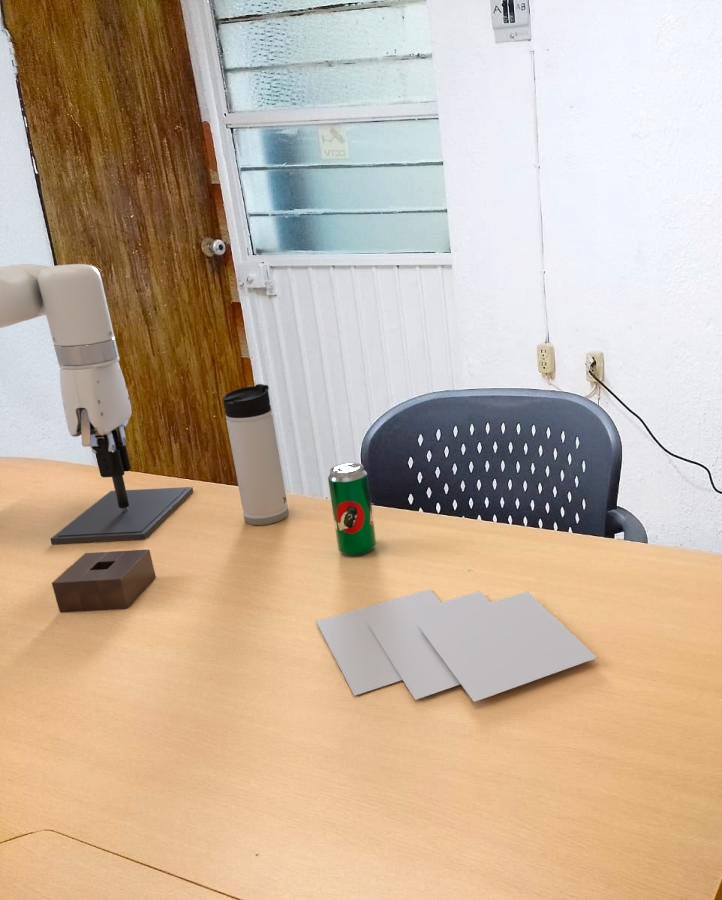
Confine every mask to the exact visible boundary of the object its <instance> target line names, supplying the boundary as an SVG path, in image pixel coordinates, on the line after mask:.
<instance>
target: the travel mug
mask: <svg viewBox="0 0 722 900" xmlns="http://www.w3.org/2000/svg"><path fill="white" fill-rule="evenodd" d="M269 390H270V389H269V385H268V384H263V383H258V384H254V385H252V386H246V387H240V388H238V389H237V388H236V389H234V390H232V391H230V392H228V393H226V394H225V395H224V396H223V397H222V403H223V408H224V413H225V419H226V420H225V422H226V427H227V432H228V437H229V443H230V448H231V453H232V460H233V464H234V465H233V466H234V470H235V475H236V476H235V477H236V481H237V487H238V491H239V497H240V502H241V507H242V512H243V519H244V521H245V522H246V523H247V524H249V525H253V526H266V525H271V524H276V523H279V522H281V521H282V520H284V519H286V518H287V516H288V515H289V513H290V512H289V506H288V500H287V494H286V487H285V482H284V476H283V469H282V464H281V458H280V451H279V445H278V439H277V433H276V427H275V421H274V415H273V409H272V406H271V400H270V394H269Z"/></svg>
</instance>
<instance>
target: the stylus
mask: <svg viewBox="0 0 722 900" xmlns="http://www.w3.org/2000/svg"><path fill="white" fill-rule="evenodd" d="M102 438H103V439H104V440H105V437H102ZM113 440H114V443H115V439H114V436H113ZM115 447H116V444H115ZM116 450H117V448H116ZM111 478H112V483H113V488H114V491H115V493H116V497H117V501H118V506H119V508H121V509H122V512H127V511H128V508H127V507H128V506H129V502H128V497H127V493H126V490H127V489H126V484H125V480H124V475H123V476H121V477H111Z"/></svg>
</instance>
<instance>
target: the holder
mask: <svg viewBox="0 0 722 900" xmlns="http://www.w3.org/2000/svg"><path fill="white" fill-rule="evenodd" d="M156 577H157V576H156V572H155V568H154V563H153V559H152V554H151V550H150V549H132V550H115V551H114V550H112V551H99V552H98V551H96V552H95V551H94V552H85V553H84V554H83V555H81V556H80V557H79V558H78V559H77V560H76V561H74V563H72V564H71V565H70V566H68V568H66V570H64V571H63V572H62V573H61V574H60V575H59V576H58V577H57V578H56V579H54V580H53V581H52V582H51V586H52V590H53V593H54V597H55V601H56V604H57V607H58V611H59V612H60V613H65V612H67V613H68V612H83V611H84V612H85V611H100V610H101V611H103V610H120V609H128V608H129V607H130V606H131V605H132V604H133V603H134V602H135V601H136V600H137V598H138V597H139V596H140V595H141V594H142V593H143V592H144V591H145V589H147V587H148V586H149V585H150V584H151V583H152V582H153V581H154V579H156Z"/></svg>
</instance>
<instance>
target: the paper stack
mask: <svg viewBox="0 0 722 900" xmlns="http://www.w3.org/2000/svg"><path fill="white" fill-rule="evenodd" d="M315 623H316V624H317V626H318V628H319V631H320V632H321V634H322V636H323V638H324V640H325V642H326V644H327V645H328V648H329V650H330V651H331V653H332V655H333V657H334V659H335V661H336V663H337V665H338V667H339V669H340V671H341V673H342V675H343V676H344V678H345V680H346V682H347V684H348V686H349V688H350V690H351V692H352V694H353V696H358V695H361V694H365V693H368V692H370V691H373V690H376V689H379V688H383V687H386V686H388V685H392V684H395V683H398V682H400V681H403V683H404V684H405V686H406V688H407V690H408V691H409V692H410V694H411V695H412V698H413V699H414V701H416V700H419V699H422V698H425V697H428V696H431V695H434V694H436V693H441V692H443V691H446V690H448V689H451V688H454V687H457V686H461V687H462V688H463V689H464V691H465V692H466V693H467V694H468V696H469V698H470V699H471V700H472V701H473V703H476V702H478V701H481V700H485V699H487V698H489V697H492V696H496V695H498V694H500V693H504V692H506V691H510V690H513V689H514V688H517V687H521V686H524V685H526V684H529V683H532V682H534V681H537V680H541V679H543V678H545V677H548V676H551V675H554V674H557V673H560V672H561V671H562V672H563V671H565V670H568V669H571V668H573V667H576V666H579V665H581V664H585V663H587V662H590V661H593V660H595V659H598V657H597V655H596V654H594V652H592V651H591V650H590V649H589V648H588V647H587V646H586V645H585V644H584V643H583V642H582V641H581V640H580V639H579V638H578V637H577V636H576V635H574V633H572V631H570V630H569V629H568V628H567V627H566V626H565V625H564V624H563V623H562V622H561V621H560V620H559V619H558V618H557V617H556V616H555V615H554V614H552V613H551V611H549V610H548V608H546V607H545V606H544V605H543V604H542V603H541V602H540V601H538V599H536V597H534V596H533V594H532V593H530V592H529V591H527V590H526V591H524V592H521V593H518V594H514V595H511V596H507V597H504V598H500V599H497V600H494V601H490V600H489V598H487V597H486V596H485V595H484V594H483V592H482V591H481V590H479V591H474V592H472V593H468V594H465V595H461V596H458V597H457V596H456V597H454V598H451V599H447V600H444V601H441V600H440V599H439V597H438V596H437V595H436V594H435V593H434V591H433V590H432V589H431V588H428V589H425V590H421V591H418V592H414V593H411V594H408V595H407V594H406V595H404V596H400V597H397V598H393V599H390V600H385V601H383V602H379V603H376V604H372V605H368V606H364V607H360V608H358V609H357V608H356V609H354V610H351V611H347V612H343V613H340V614H337V615H333V616H329V617H326V618H325V617H324V618H321V619H319V620H316V621H315Z"/></svg>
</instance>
